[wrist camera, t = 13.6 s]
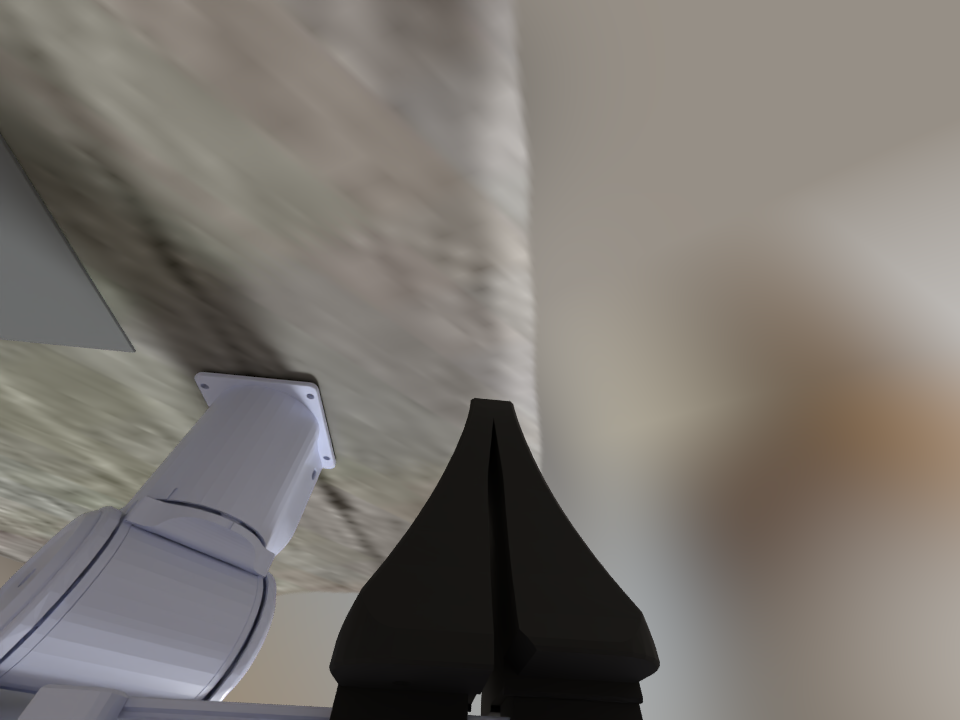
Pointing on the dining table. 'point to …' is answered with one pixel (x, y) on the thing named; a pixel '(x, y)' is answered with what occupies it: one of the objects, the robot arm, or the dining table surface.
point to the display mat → (45, 274)
